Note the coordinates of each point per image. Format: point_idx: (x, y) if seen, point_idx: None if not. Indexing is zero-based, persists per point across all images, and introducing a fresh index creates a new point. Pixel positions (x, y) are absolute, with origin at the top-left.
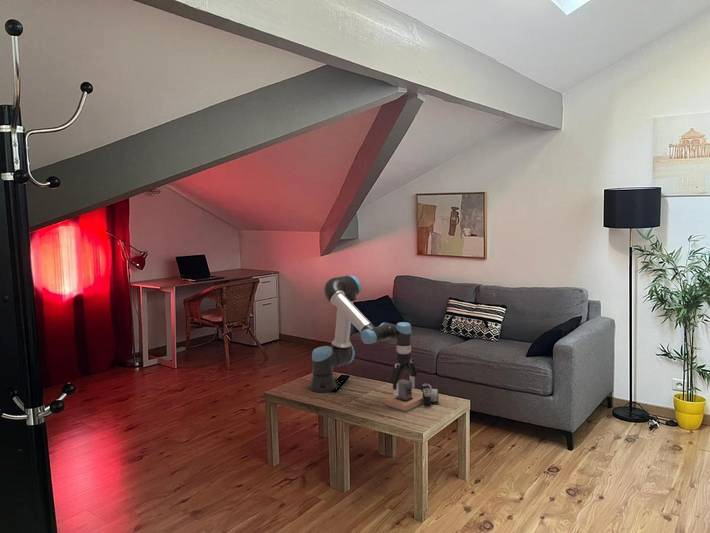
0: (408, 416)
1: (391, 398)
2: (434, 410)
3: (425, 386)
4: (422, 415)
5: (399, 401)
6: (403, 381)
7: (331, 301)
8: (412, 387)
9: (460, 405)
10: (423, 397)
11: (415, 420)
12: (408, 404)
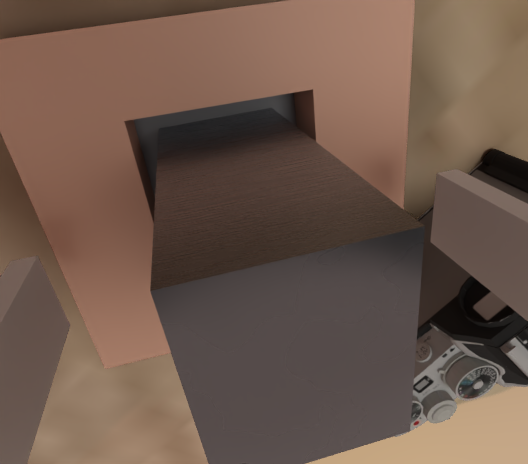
0: (78, 387)
1: (90, 94)
2: None
3: (511, 366)
4: (189, 412)
5: (122, 245)
6: (297, 371)
7: None
8: (443, 230)
9: (491, 391)
10: (487, 165)
11: (81, 453)
12: (154, 354)
